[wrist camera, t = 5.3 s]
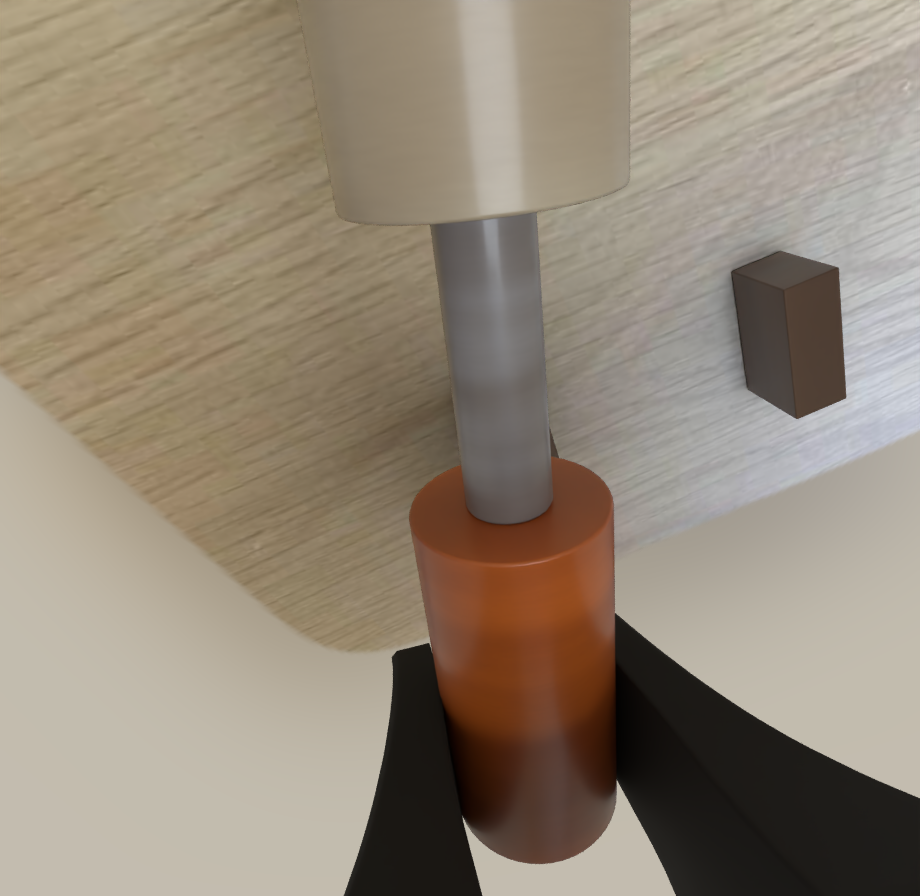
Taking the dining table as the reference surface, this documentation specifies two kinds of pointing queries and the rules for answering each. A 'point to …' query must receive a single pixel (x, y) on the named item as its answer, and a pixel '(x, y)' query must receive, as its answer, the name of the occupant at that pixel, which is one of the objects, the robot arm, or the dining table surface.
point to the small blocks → (789, 333)
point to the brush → (496, 373)
